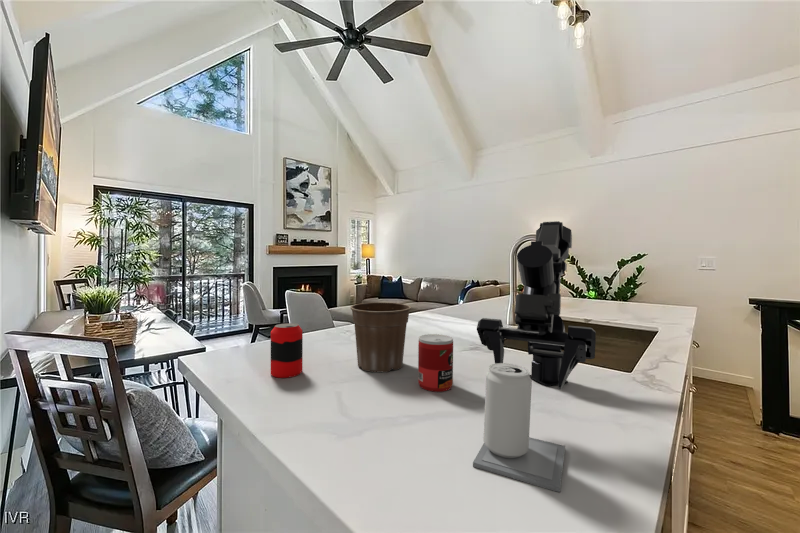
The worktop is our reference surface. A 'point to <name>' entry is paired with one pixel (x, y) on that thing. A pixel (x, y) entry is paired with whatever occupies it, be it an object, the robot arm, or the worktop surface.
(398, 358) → the plant pot
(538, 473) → the coaster
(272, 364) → the soda can
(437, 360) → the canned food
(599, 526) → the worktop surface
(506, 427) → the beverage can
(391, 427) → the worktop surface
